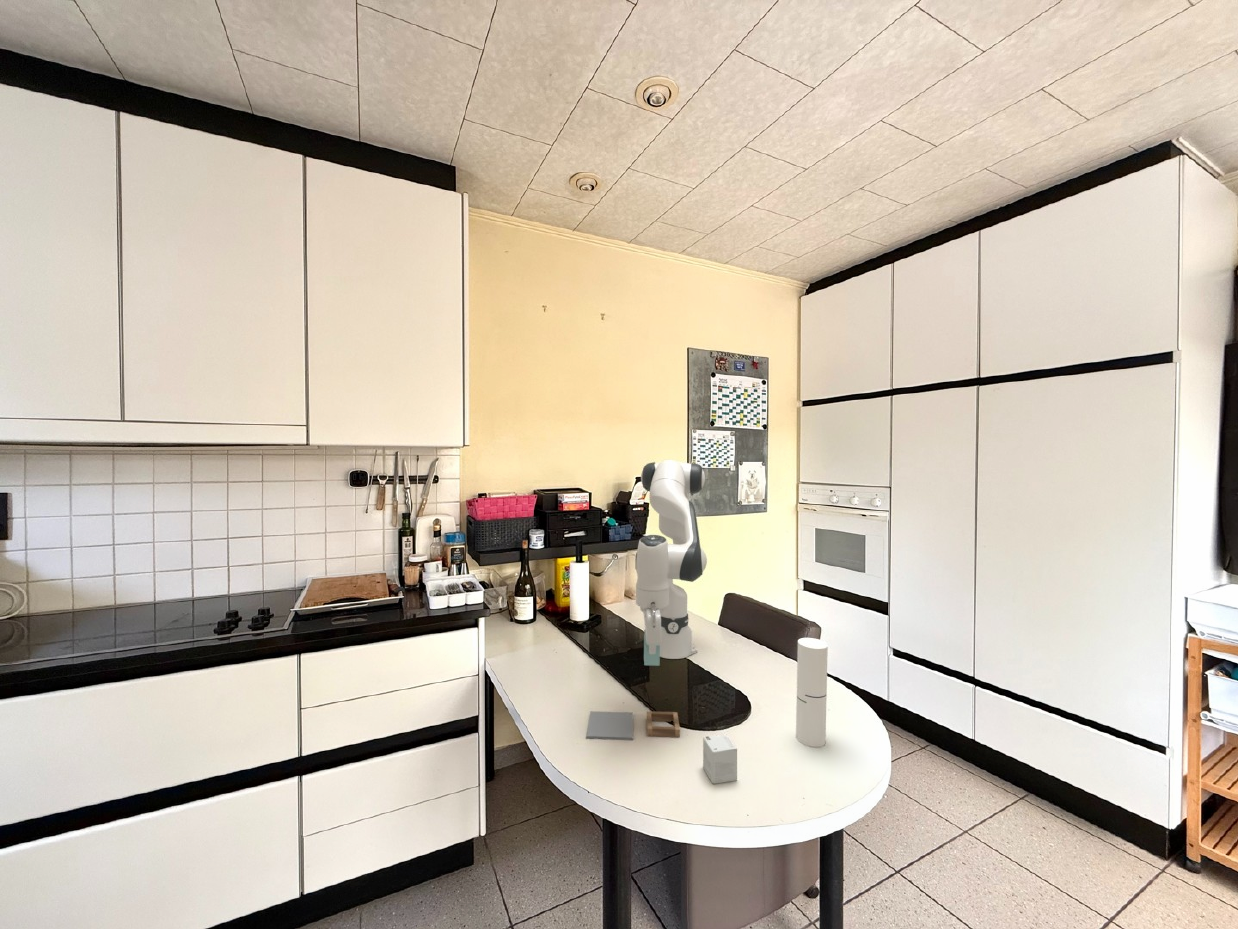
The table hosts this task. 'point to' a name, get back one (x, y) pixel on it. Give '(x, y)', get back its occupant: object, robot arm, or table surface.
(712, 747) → the skincare box
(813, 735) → the cylindrical container
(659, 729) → the pocket
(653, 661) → the teal block
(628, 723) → the mat
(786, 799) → the table surface
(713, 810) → the table surface
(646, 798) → the table surface
